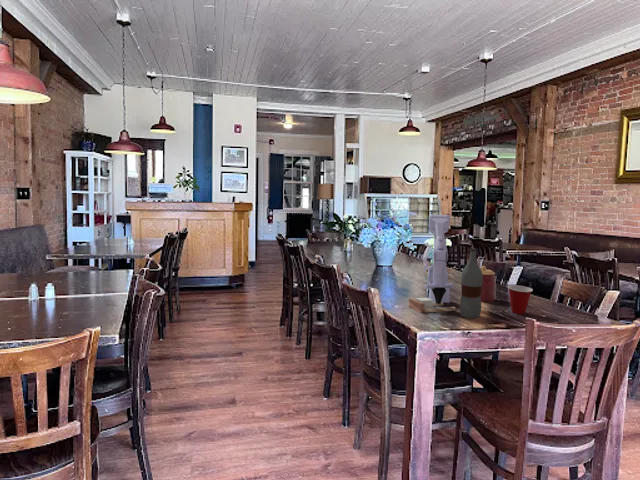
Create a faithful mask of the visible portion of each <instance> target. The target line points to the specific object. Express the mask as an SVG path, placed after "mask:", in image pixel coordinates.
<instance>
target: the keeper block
mask: <svg viewBox="0 0 640 480" xmlns="http://www.w3.org/2000/svg"><path fill="white" fill-rule="evenodd" d="M414 299H415V300H417V301H419V302H422V303H424V304H425V307H424V309H425V308H434V306H433V300H432V299H429V297H415V298H414Z"/></svg>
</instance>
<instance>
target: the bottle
mask: <svg viewBox="0 0 640 480" xmlns="http://www.w3.org/2000/svg"><path fill="white" fill-rule="evenodd" d="M460 275H461V276H460V286H461V287H460V288H461V289H460V290H461V296H460V297H461V298H460V301H459V313H460V314H459V315H460V316H461V317H463V318H466V319H467V318H468V319H479V318H480V316H481V313H482V301H481V297H480V296H481V289H482V282H483V275H482V271H481V267H480V266H479V264H478V261H477V248H470V250H469V261H468V263H466V265H465V266H464V268H462V271H461V274H460Z"/></svg>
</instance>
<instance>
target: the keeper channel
mask: <svg viewBox="0 0 640 480" xmlns="http://www.w3.org/2000/svg"><path fill="white" fill-rule="evenodd" d="M415 299H416V298H408V308H409V309H412V310H413V311H416V312H418V313H421V314H423V313H435V312H436V313H437V312H440V313H441V312H452V311H453V312H455V311H456V307H455V306H447V307H446V306H445V307H443V306H444V303H443V302H441V304H437V303H433V308H425V309H424V307H425V304H424V303H422V302H419V301H417V300H415Z"/></svg>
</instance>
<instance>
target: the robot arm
mask: <svg viewBox="0 0 640 480" xmlns="http://www.w3.org/2000/svg"><path fill="white" fill-rule="evenodd" d="M450 222H451V216H450V215H449V214H432V213H431V214H430V215H429V222H428V223H429V225H428V226H429V232H431V233H433V251H432V260H433V262H432V263H433V264H432V265H430V266H429V267H428V269H427V279H426V280H427V281H426V282H427V284H423V288H424V289H425V290H429V295H428V296H429V297H428V298H429V299H432V300H433V303H437V304H441V302H443V304H444V303H447V304H448V303H451V301H450V293H451V292H450V291H451V289H454V287H455V286H454V285H455V284H454V283H451V282H450V283H448V282H449V281H448V280H449V273H448V268H447V262H448V257H449V254H448V252H449V251H448V248H447V240H446V238H445V237H444V236H445V234H446V233H448V232H449V228H450Z"/></svg>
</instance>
